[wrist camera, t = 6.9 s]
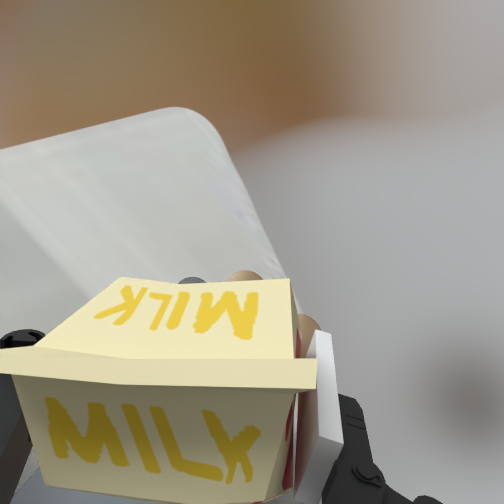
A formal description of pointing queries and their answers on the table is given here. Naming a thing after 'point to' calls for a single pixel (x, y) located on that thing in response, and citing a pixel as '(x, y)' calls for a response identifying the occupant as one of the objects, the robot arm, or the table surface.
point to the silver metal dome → (191, 280)
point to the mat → (61, 495)
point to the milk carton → (168, 392)
